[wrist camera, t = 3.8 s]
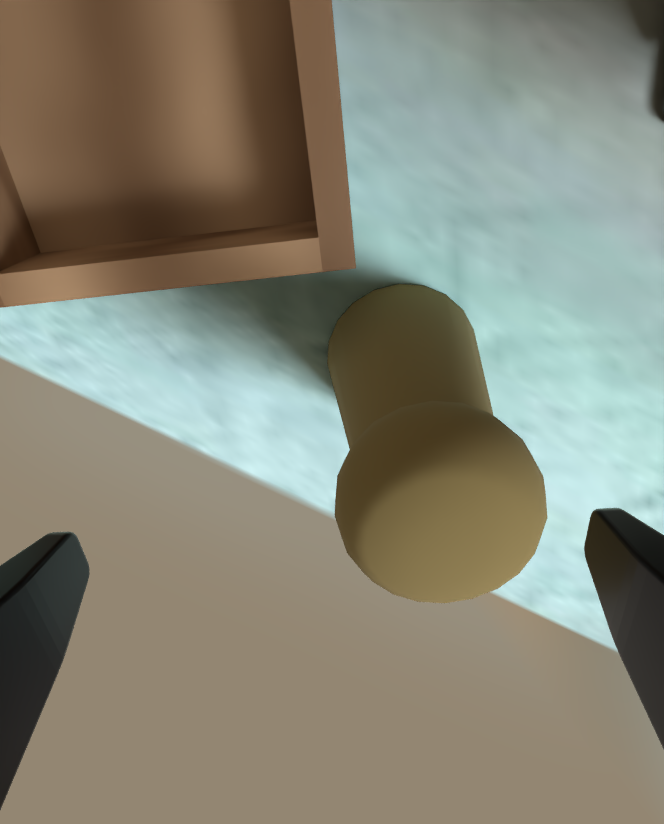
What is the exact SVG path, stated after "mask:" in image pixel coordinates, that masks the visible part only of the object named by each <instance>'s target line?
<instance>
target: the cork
mask: <svg viewBox="0 0 664 824" xmlns="http://www.w3.org/2000/svg"><path fill="white" fill-rule="evenodd" d="M327 364H328V368H329V372H330V376H331V379H332V383H333V387H334V391H335V395H336V399H337V402H338V406H339V410H340V414H341V418H342V421H343V425H344V429H345V433H346V437H347V440H348V444H349V448H350V451H349V453H348V455H347V457H346V459H345V461H344V463H343V465H342V467H341V469H340V472H339V474H338V476H337V488H336V500H335V518H336V521H337V524H338V527H339V530H340V533H341V536H342V539H343V542H344V545H345V548H346V551H347V553H348V555H349V556H350V557H351V558H352V559H353V560H354V562H355V563H356V564H357V565H358V567H359V568H360V569H361V570H362V572H363V573H364V574H365V575H366V576H367V577H369V578H370V579H371V580H372V581H373V582H374V583H376V584H377V585H379V586H381V587H382V588H384V589H386V590H387V591H389V592H390V593H392V594H394V595H397V596H401V597H404V598H407V599H411V600H414V601H417V602H433V603H449V602H455V601H461V600H467V599H473V598H475V597H478V596H480V595H483V594H485V593H488V592H490V591H493V590H495V589H498V588H499V587H501V586H502V585H503V584H505V583H506V582H508V581H509V580H510V579H512V578H513V577H515V576H516V575H518V574H519V573H520V572H521V570H522V569H523V568H524V567H525V565H526V564H527V563H528V561H529V560H530V559H531V558H532V556H533V555H534V554H535V551H536V549H537V546H538V543H539V541H540V538H541V535H542V532H543V529H544V526H545V523H546V520H547V508H546V494H545V486H544V479H543V475H542V473H541V472H540V470H539V468H538V466H537V464H536V462H535V461H534V459H533V457H532V455H531V453H530V451H529V450H528V448H527V446H526V445H525V443H524V441H523V440H522V439H521V438H520V437H519V436H518V435H517V434H515V433H514V432H513V431H512V430H511V429H509V428H508V427H507V426H506V425H505V424H503V423H502V422H501V421H500V420H498V419H497V418H496V417H494V416H493V412H492V407H491V403H490V399H489V394H488V390H487V386H486V381H485V377H484V373H483V368H482V364H481V360H480V355H479V351H478V347H477V342H476V338H475V333H474V329H473V328H472V326H471V324H470V322H469V320H468V318H467V316H466V314H465V313H464V311H463V309H461V308H460V307H459V306H458V305H457V304H456V303H455V302H454V301H452V300H451V299H450V298H449V297H448V296H447V295H445V294H443V293H440V292H438V291H436V290H433V289H431V288H428V287H426V286H422V285H407V284H397V285H393V286H389V287H384V288H380V289H376V290H373V291H372V292H370V293H369V294H367V295H365V296H364V297H362V298H360V299H359V300H357V301H355V302H354V303H353V304H352V305H351V306H350V307H349V308H348V309H347V310H346V312H345V313H344V314H343V315H342V316H341V317H340V318H339V320H338V321H337V323H336V325H335V328H334V330H333V333H332V335H331V337H330V340H329V344H328V359H327Z"/></svg>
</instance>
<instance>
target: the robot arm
mask: <svg viewBox="0 0 664 824" xmlns="http://www.w3.org/2000/svg"><path fill="white" fill-rule="evenodd" d="M584 550H585V557H586V561H587V564H588V567H589V570H590V573H591V576H592V579H593V582H594V585H595V588H596V591H597V593H598V596H599V599H600V602H601V605H602V608H603V611H604V614H605V617H606V620H607V623H608V626H609V629H610V632H611V634H612V637H613V640H614V643H615V645H616V647H617V650H618V652H619V654H620V657H621V659H622V661H623V663H624V665H625V667H626V669H627V671H628V674H629V676H630V678H631V680H632V682H633V684H634V687H635V689H636V691H637V693H638V695H639V697H640V700H641V702H642V704H643V706H644V708H645V710H646V712H647V715H648V717H649V719H650V721H651V723H652V725H653V727H654V729H655V732H656V734H657V736H658V738H659V740H660V742H661V744H662V747H663V749H664V535H663V534H661V533H659V532H658V531H656V530H654V529H653V528H651V527H650V526H648V525H646V524H645V523H643V522H642V521H640V520H638V519H637V518H635V517H634V516H632V515H630V514H629V513H627V512H626V511H624V510H622V509H619V508H603V509H596V510H594V511H593V512H592V514H591V517H590V522H589V526H588V531H587V536H586V541H585V547H584ZM88 578H89V565H88V562H87V559H86V557H85V555H84V552H83V550H82V547H81V545H80V542H79V540H78V538H77V536H76V535H75V534H74V533H72V532H53V533H49V534H47V535H45V536H44V537H42V538H41V539H39V540H38V541H36V542H35V543H33V544H32V545H31V546H29V547H27V548H26V549H25V550H23V551H21V552H20V553H18V554H17V555H16V556H14V557H12V558H11V559H9V560H8V561H7V562H5V563H4V564H2V565H1V566H0V810H1V807H2V805H3V802H4V800H5V798H6V795H7V793H8V791H9V788H10V786H11V784H12V781H13V779H14V776H15V774H16V772H17V769H18V767H19V765H20V762H21V760H22V757H23V755H24V753H25V750H26V748H27V746H28V743H29V741H30V738H31V736H32V734H33V731H34V729H35V727H36V724H37V722H38V719H39V717H40V715H41V712H42V710H43V708H44V705H45V703H46V700H47V698H48V696H49V693H50V691H51V689H52V686H53V684H54V681H55V679H56V677H57V674H58V672H59V669H60V667H61V664H62V662H63V659H64V656H65V653H66V650H67V647H68V644H69V641H70V638H71V634H72V631H73V628H74V625H75V621H76V618H77V615H78V612H79V608H80V605H81V602H82V599H83V595H84V592H85V589H86V585H87V582H88Z"/></svg>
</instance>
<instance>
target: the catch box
mask: <svg viewBox="0 0 664 824" xmlns="http://www.w3.org/2000/svg"><path fill="white" fill-rule="evenodd" d="M354 268H356V263H355V252H354V241H353V230H352V219H351V208H350V197H349V186H348V175H347V164H346V153H345V143H344V132H343V121H342V110H341V99H340V88H339V77H338V66H337V55H336V44H335V33H334V22H333V11H332V0H0V307H9V306H19V305H28V304H37V303H46V302H55V301H64V300H73V299H82V298H91V297H100V296H109V295H118V294H127V293H136V292H145V291H154V290H164V289H173V288H182V287H191V286H200V285H209V284H218V283H227V282H236V281H245V280H254V279H263V278H272V277H281V276H290V275H299V274H309V273H318V272H327V271H336V270H345V269H354Z"/></svg>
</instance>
